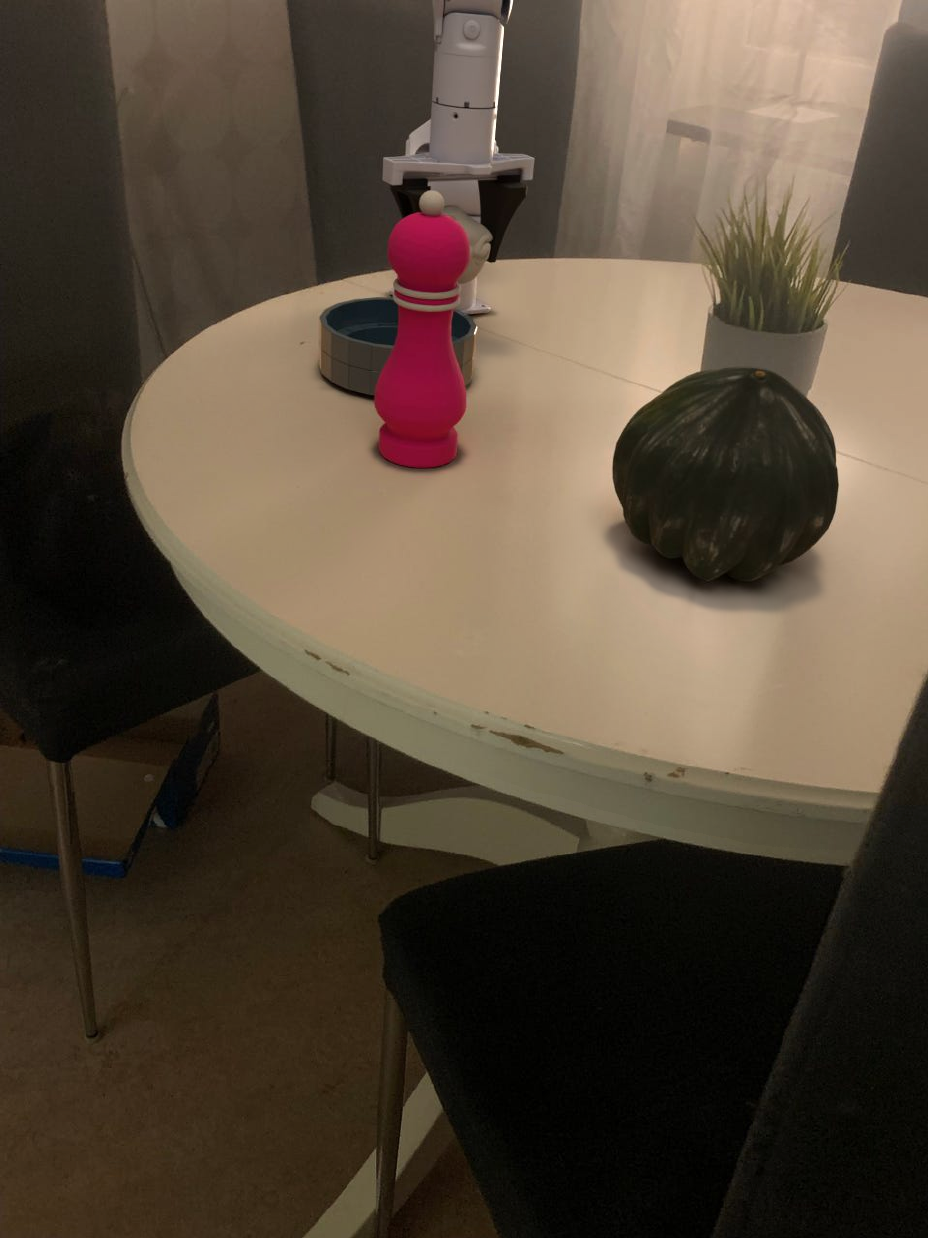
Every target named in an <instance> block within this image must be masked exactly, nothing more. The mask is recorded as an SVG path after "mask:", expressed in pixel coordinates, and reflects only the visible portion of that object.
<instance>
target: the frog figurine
mask: <svg viewBox="0 0 928 1238" xmlns="http://www.w3.org/2000/svg"><path fill="white" fill-rule="evenodd" d="M440 214H444V215H447V216H449V217H451V218H453V219H455V220H456V221H457V222H458V223H459V224H460V225H461V226H462V227H463V228H464V230H465V231H466V233H467V236H468V238H469V243H470V261H469V265H468V267H467V269H466V270H465V272H464V273H463V274H462V275H461V276H460V277H459V278H458V280H457V283H458V284H464V283H468V282H470V281H472V280H473V279H474V278H476V277H477V278H478V276H479V274H480V273H481V272H482V270H483V268H484V266H485V263H486V262H488V261H487V259H488V257H489V253H490V248H491V246H490V244H489V242H490V241H491V240H492V239H493V237H492V234H491V233H490V232H489V230H488V229H487V228H486V227H484V226H483V225H482V224H480V223H479V222H477V221H476V220H474V219H472V218H471V217H470V216H469V215H467V214H466V213H464V211H463V210H462V209H461V208H460V207H459V206H455V205H446V206H444V209H443V211H442V212H441V213H440Z"/></svg>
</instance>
